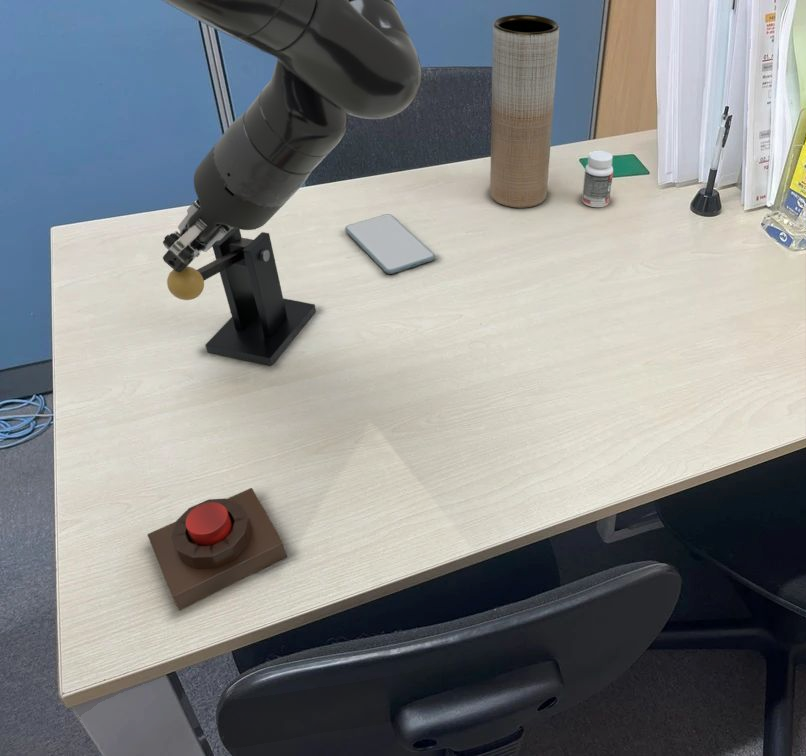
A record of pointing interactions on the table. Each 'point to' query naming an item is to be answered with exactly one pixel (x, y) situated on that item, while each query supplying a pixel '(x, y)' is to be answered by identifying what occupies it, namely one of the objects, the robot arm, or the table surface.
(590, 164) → the pill bottle
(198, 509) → the release button
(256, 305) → the latch bracket
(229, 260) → the latch lever
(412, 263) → the smartphone
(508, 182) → the vase
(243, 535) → the block
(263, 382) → the table surface
